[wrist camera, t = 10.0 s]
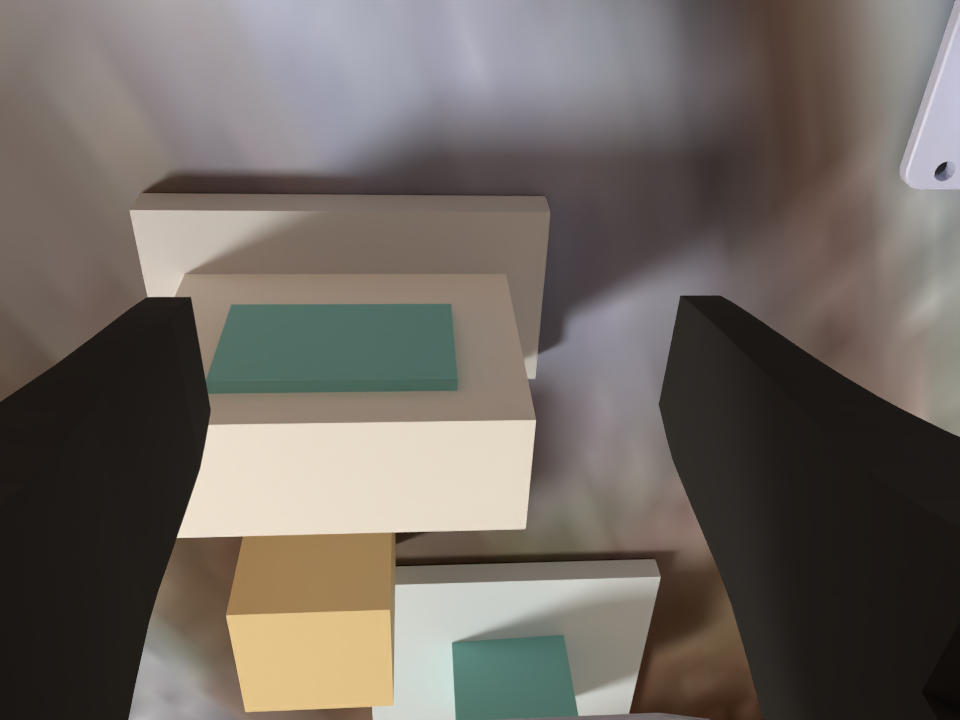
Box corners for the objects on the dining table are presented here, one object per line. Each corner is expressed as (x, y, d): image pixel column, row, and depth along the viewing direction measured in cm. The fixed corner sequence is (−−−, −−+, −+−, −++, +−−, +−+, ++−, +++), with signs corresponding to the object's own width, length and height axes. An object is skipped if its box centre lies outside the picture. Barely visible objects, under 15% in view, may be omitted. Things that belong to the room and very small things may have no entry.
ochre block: (393, 452, 26) (390, 609, 21) (395, 544, 28) (393, 705, 23) (260, 455, 26) (226, 615, 21) (274, 547, 28) (245, 712, 23)
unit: (545, 195, 21) (595, 347, 16) (530, 358, 24) (569, 537, 19) (140, 192, 21) (38, 351, 15) (174, 361, 23) (98, 550, 18)
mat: (655, 559, 29) (660, 576, 29) (617, 726, 35) (621, 744, 34) (366, 567, 29) (365, 585, 28) (375, 737, 34) (374, 755, 34)
